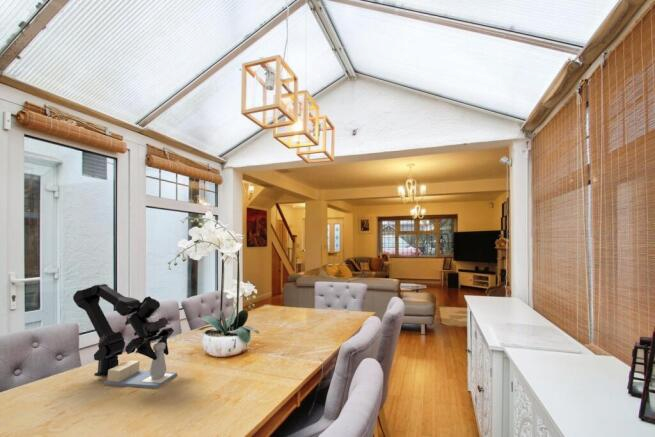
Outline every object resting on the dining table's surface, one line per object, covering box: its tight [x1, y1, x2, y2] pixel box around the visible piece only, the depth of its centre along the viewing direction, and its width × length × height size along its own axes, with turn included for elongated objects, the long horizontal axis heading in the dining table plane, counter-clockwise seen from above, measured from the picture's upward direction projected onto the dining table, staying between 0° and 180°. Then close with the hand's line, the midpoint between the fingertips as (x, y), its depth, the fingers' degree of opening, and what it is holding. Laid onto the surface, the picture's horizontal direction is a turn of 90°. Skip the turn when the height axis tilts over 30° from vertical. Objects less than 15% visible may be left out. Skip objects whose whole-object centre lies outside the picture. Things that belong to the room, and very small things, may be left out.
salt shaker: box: [149, 342, 167, 380], centre depth 121 cm, size 6×6×13 cm
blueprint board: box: [103, 359, 178, 389], centre depth 122 cm, size 22×12×5 cm, turn 82°
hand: (162, 356), depth 121 cm, fingers open, 5 cm apart
